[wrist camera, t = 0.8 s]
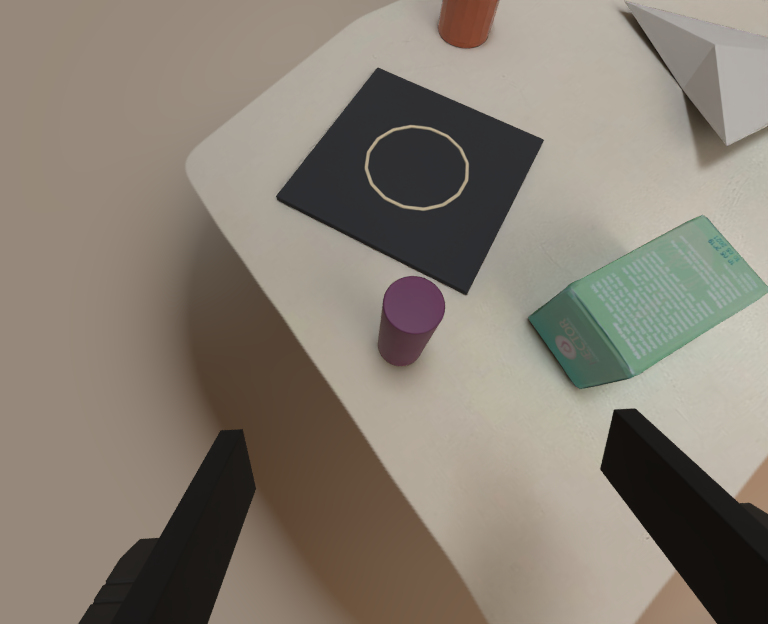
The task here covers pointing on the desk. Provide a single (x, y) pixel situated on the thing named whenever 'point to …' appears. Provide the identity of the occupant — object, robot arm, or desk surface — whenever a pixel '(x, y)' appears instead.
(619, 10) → the desk surface
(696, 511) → the robot arm
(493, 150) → the felt pad
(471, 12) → the pen pot
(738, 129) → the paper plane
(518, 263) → the desk surface
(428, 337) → the cylinder
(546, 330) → the box
